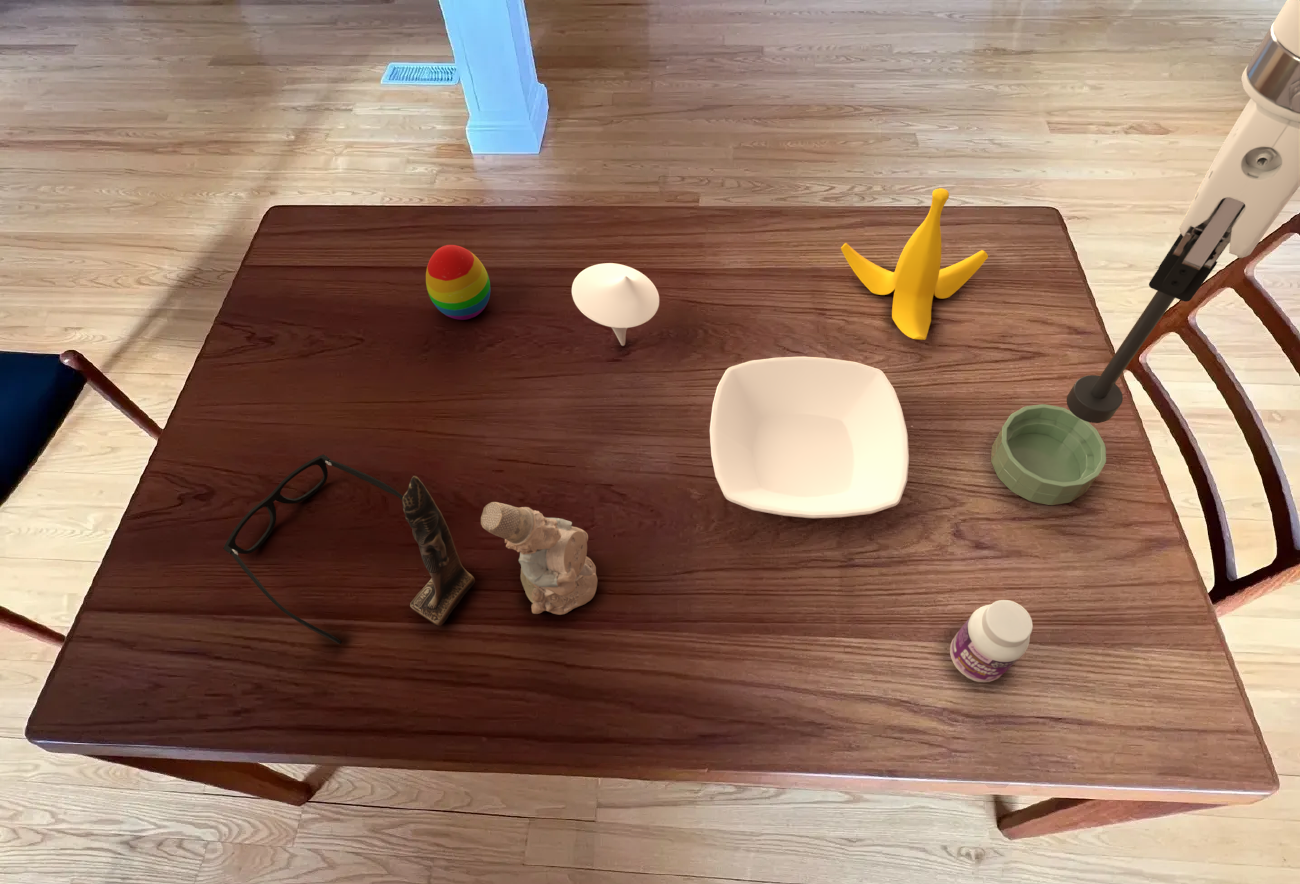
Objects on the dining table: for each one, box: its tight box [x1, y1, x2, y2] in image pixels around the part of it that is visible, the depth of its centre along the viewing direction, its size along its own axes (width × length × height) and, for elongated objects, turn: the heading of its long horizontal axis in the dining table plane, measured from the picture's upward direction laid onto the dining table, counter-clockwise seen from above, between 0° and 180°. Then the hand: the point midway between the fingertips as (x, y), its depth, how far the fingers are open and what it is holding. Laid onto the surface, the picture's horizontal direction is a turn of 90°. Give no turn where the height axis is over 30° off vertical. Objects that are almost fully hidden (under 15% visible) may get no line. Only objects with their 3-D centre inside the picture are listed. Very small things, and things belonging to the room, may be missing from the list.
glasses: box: [223, 453, 404, 645], centre depth 86 cm, size 17×18×5 cm
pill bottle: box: [949, 599, 1034, 683], centre depth 74 cm, size 5×5×10 cm
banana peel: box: [840, 187, 989, 341], centre depth 97 cm, size 17×19×17 cm
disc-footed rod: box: [1066, 234, 1199, 424], centre depth 68 cm, size 4×4×22 cm
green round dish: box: [990, 403, 1107, 506], centre depth 87 cm, size 11×11×4 cm
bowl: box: [709, 356, 910, 519], centre depth 89 cm, size 22×22×5 cm
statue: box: [401, 475, 476, 627], centre depth 76 cm, size 4×7×20 cm, turn 149°
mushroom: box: [571, 262, 660, 347], centre depth 98 cm, size 10×11×12 cm
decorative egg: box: [425, 244, 491, 321], centre depth 104 cm, size 8×8×10 cm
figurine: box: [480, 501, 599, 616], centre depth 76 cm, size 9×8×20 cm
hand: (1174, 283), depth 64 cm, fingers closed on disc-footed rod, 1 cm apart
